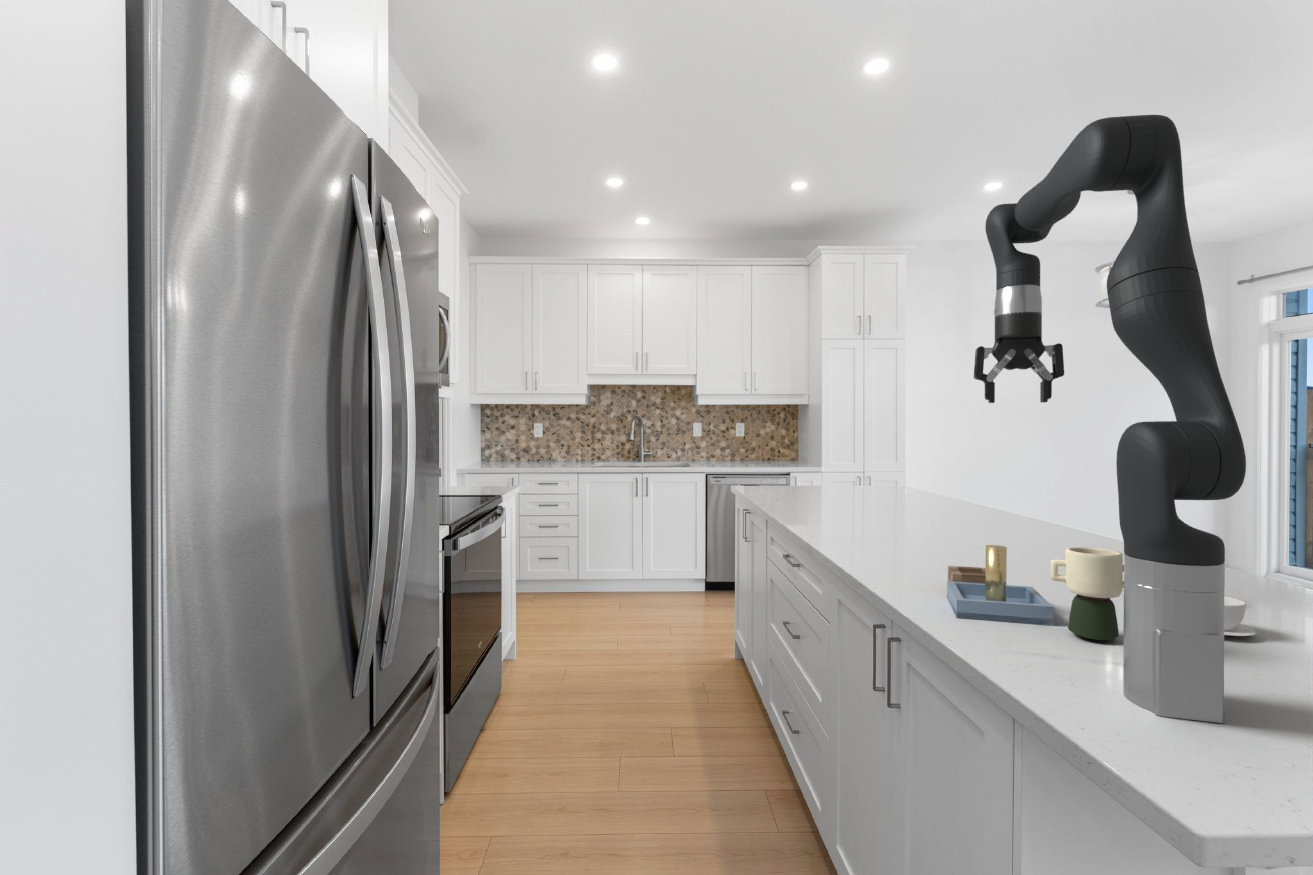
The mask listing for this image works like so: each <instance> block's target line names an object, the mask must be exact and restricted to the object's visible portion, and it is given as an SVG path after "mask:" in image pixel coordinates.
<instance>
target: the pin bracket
mask: <svg viewBox="0 0 1313 875" xmlns="http://www.w3.org/2000/svg"><path fill="white" fill-rule="evenodd" d="M947 581H952V582H968V583H983V584H985V567H975V566H958V565H947Z"/></svg>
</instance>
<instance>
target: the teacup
mask: <svg viewBox="0 0 1313 875" xmlns="http://www.w3.org/2000/svg"><path fill="white" fill-rule="evenodd" d="M1246 607H1247V603H1246V601H1243V600H1240V599H1239V598H1234V597H1230V596H1225V595H1224V636H1232V637H1234V636H1236V637H1249V636H1255V635H1257V634H1258V632H1257V630H1256V629H1254V628H1253V627H1251V626H1247V625H1245V624H1242V622H1243V620H1244V618H1245V613H1246Z"/></svg>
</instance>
